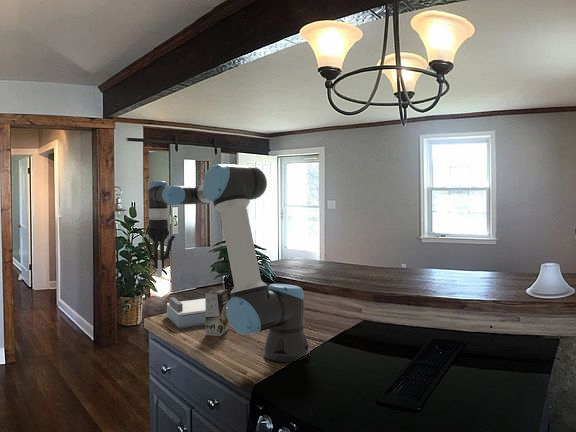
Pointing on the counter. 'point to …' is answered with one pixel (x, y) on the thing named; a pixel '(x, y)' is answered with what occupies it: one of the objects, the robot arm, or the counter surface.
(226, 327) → the coffee box
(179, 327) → the blue tray
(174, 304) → the lid
